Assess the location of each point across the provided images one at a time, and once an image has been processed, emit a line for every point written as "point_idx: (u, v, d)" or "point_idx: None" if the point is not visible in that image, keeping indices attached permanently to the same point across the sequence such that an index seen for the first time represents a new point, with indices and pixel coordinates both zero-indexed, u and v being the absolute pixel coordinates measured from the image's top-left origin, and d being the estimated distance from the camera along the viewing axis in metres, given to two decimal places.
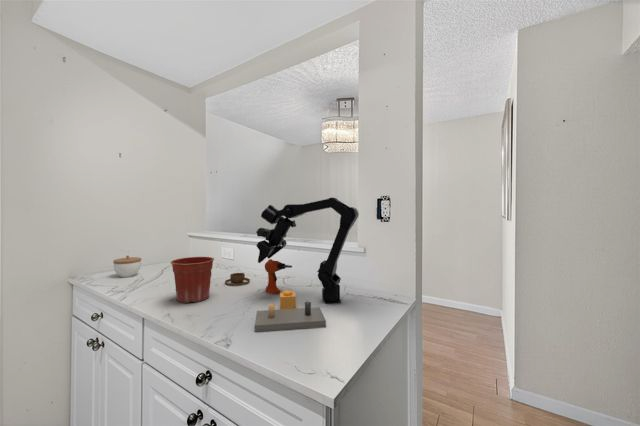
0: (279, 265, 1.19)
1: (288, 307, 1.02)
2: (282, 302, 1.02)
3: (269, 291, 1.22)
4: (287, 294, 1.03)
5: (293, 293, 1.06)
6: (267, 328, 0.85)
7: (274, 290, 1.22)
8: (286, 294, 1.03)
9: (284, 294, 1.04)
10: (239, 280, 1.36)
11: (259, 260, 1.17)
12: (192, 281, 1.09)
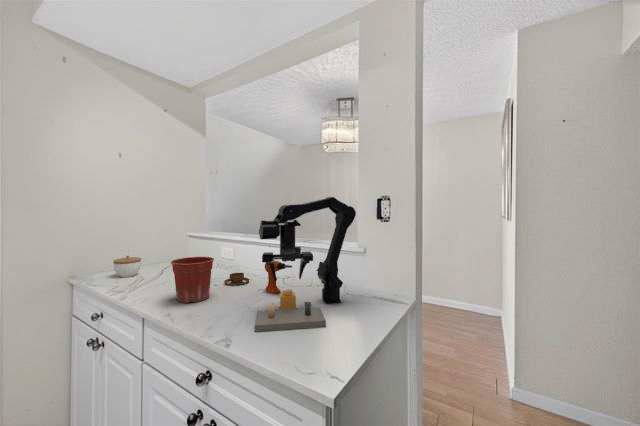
0: (279, 265, 1.19)
1: (288, 307, 1.02)
2: (282, 302, 1.02)
3: (269, 291, 1.22)
4: (287, 294, 1.03)
5: (293, 293, 1.06)
6: (267, 328, 0.85)
7: (274, 290, 1.22)
8: (286, 294, 1.03)
9: (284, 294, 1.04)
10: (238, 280, 1.36)
11: (301, 275, 1.06)
12: (192, 281, 1.09)
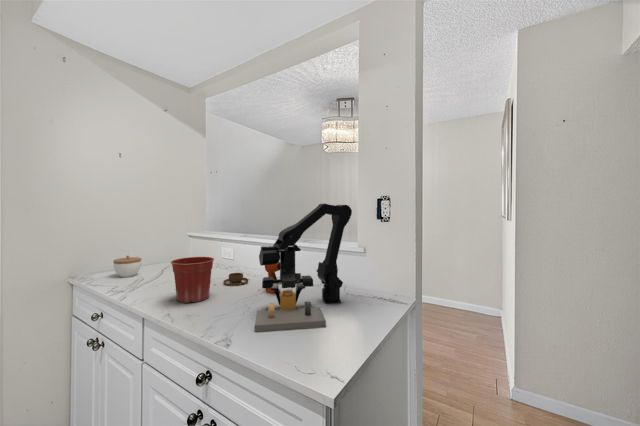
0: (279, 265, 1.19)
1: (288, 307, 1.02)
2: (282, 302, 1.02)
3: (269, 291, 1.22)
4: (287, 294, 1.03)
5: (293, 293, 1.06)
6: (267, 328, 0.85)
7: None
8: (286, 294, 1.03)
9: (284, 294, 1.04)
10: (237, 280, 1.36)
11: None
12: (192, 281, 1.09)
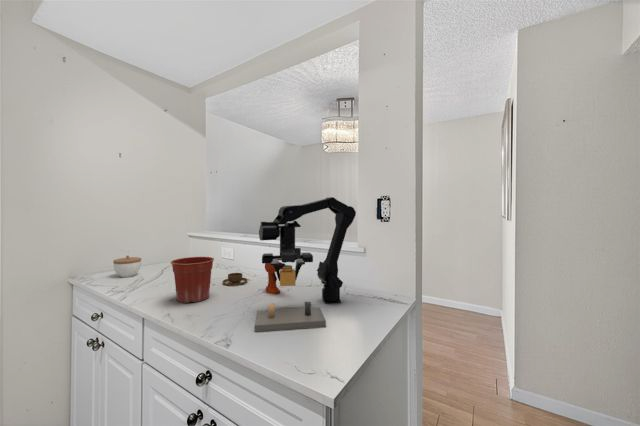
0: (279, 265, 1.19)
1: (288, 283, 1.02)
2: (282, 278, 1.02)
3: (269, 291, 1.22)
4: (287, 270, 1.03)
5: (293, 270, 1.06)
6: (267, 328, 0.85)
7: (274, 290, 1.22)
8: (286, 270, 1.03)
9: (284, 270, 1.03)
10: (236, 280, 1.36)
11: (296, 277, 1.05)
12: (192, 281, 1.09)
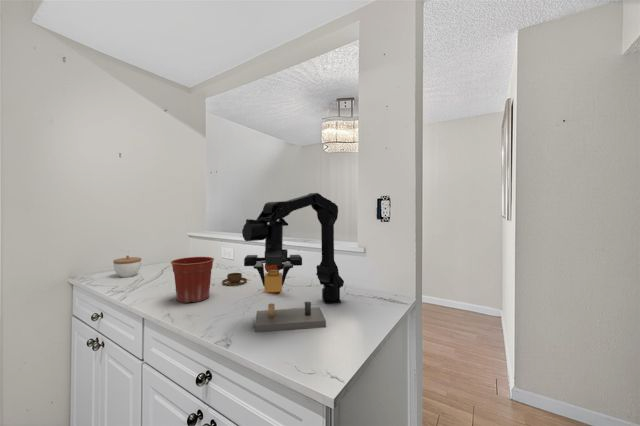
0: (279, 265, 1.19)
1: (273, 288, 0.90)
2: (266, 282, 0.90)
3: None
4: (272, 274, 0.91)
5: (280, 273, 0.94)
6: (267, 328, 0.85)
7: None
8: (271, 274, 0.91)
9: (269, 274, 0.92)
10: (236, 280, 1.36)
11: (283, 282, 0.94)
12: (192, 281, 1.09)
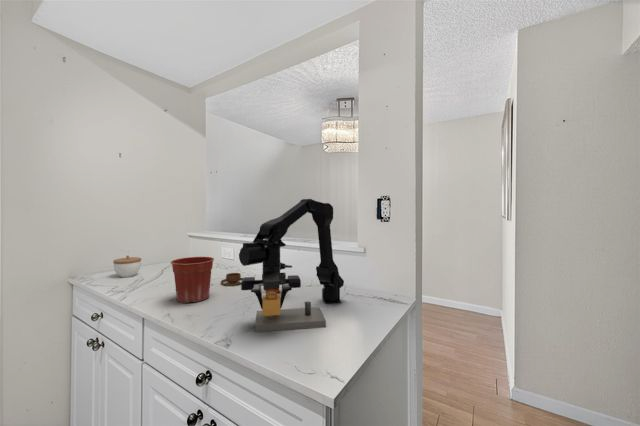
0: None
1: (272, 312, 0.88)
2: (264, 306, 0.88)
3: (269, 291, 1.22)
4: (271, 297, 0.89)
5: (278, 295, 0.92)
6: (267, 328, 0.85)
7: (274, 290, 1.22)
8: (269, 297, 0.89)
9: (267, 297, 0.90)
10: (234, 280, 1.36)
11: None
12: (192, 281, 1.09)
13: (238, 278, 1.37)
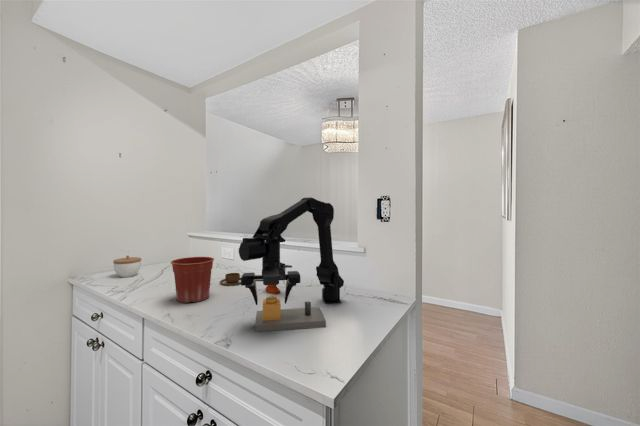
0: None
1: (272, 316, 0.88)
2: (265, 311, 0.88)
3: (269, 291, 1.22)
4: (271, 301, 0.89)
5: (278, 300, 0.92)
6: (267, 328, 0.85)
7: (274, 290, 1.22)
8: (269, 301, 0.89)
9: (267, 301, 0.90)
10: (233, 280, 1.36)
11: (286, 299, 0.92)
12: (192, 281, 1.09)
13: (237, 278, 1.38)
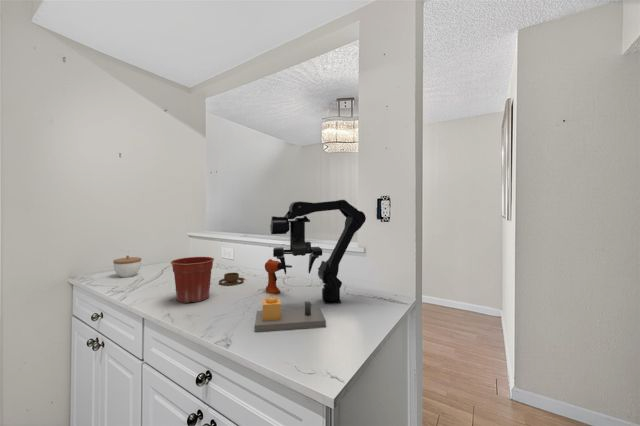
0: (279, 265, 1.19)
1: (272, 316, 0.88)
2: (265, 311, 0.88)
3: (269, 291, 1.22)
4: (271, 301, 0.89)
5: (278, 300, 0.92)
6: (267, 328, 0.85)
7: (274, 290, 1.22)
8: (269, 301, 0.89)
9: (267, 301, 0.90)
10: (231, 280, 1.37)
11: None
12: (192, 281, 1.09)
13: (236, 278, 1.38)
